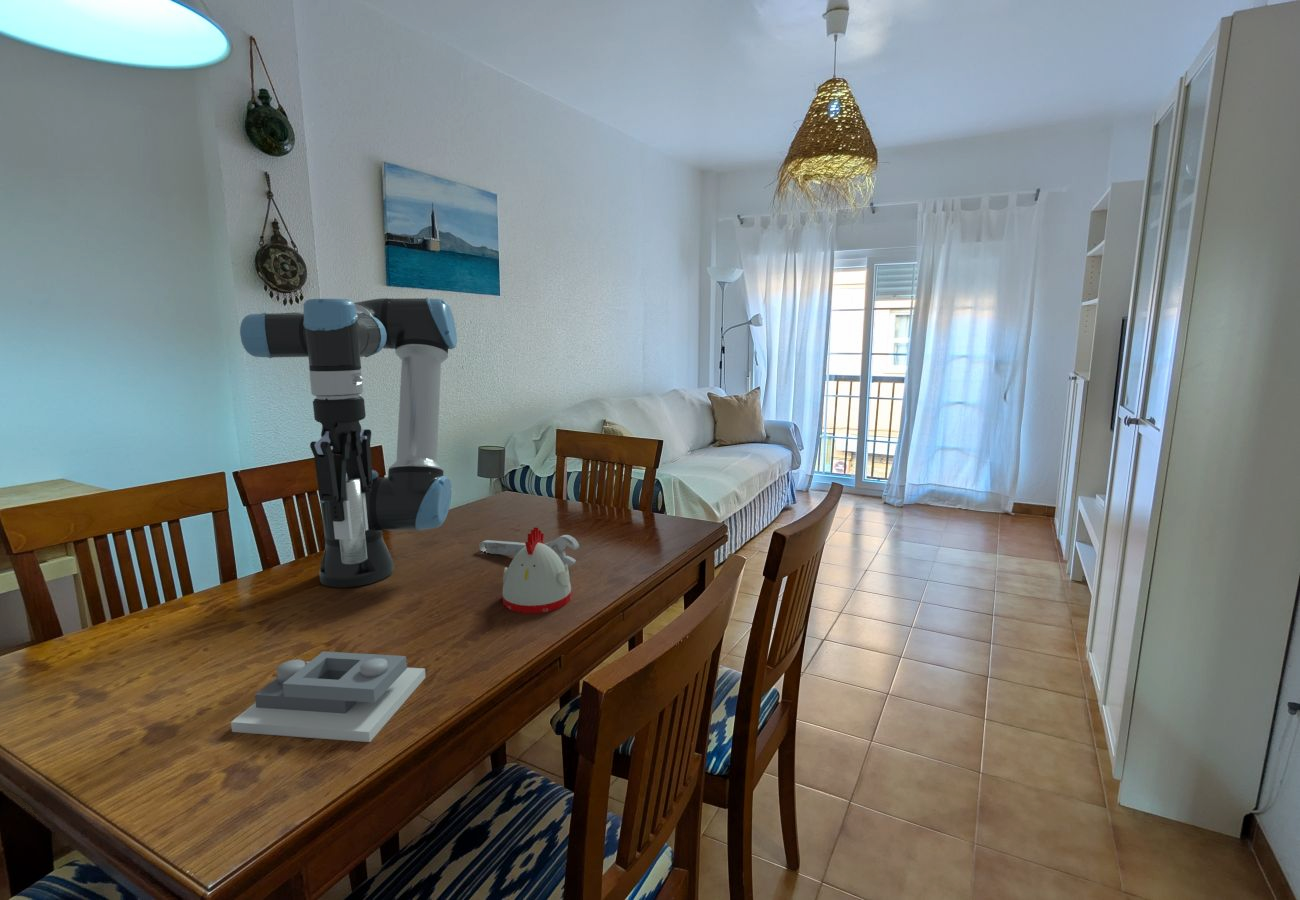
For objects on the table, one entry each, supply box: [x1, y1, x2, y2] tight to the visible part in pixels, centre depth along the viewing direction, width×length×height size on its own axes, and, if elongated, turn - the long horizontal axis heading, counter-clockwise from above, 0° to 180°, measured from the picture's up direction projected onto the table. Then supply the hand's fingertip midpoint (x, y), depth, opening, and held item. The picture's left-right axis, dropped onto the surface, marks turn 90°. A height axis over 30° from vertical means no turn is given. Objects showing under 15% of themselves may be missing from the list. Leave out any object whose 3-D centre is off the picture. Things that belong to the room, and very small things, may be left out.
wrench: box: [478, 534, 580, 567], centre depth 149 cm, size 8×2×30 cm
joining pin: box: [339, 477, 367, 564], centre depth 105 cm, size 4×4×14 cm
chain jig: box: [230, 650, 426, 743], centre depth 92 cm, size 20×16×6 cm
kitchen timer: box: [502, 526, 572, 614], centre depth 127 cm, size 14×14×15 cm
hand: (352, 533), depth 106 cm, fingers closed on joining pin, 4 cm apart
